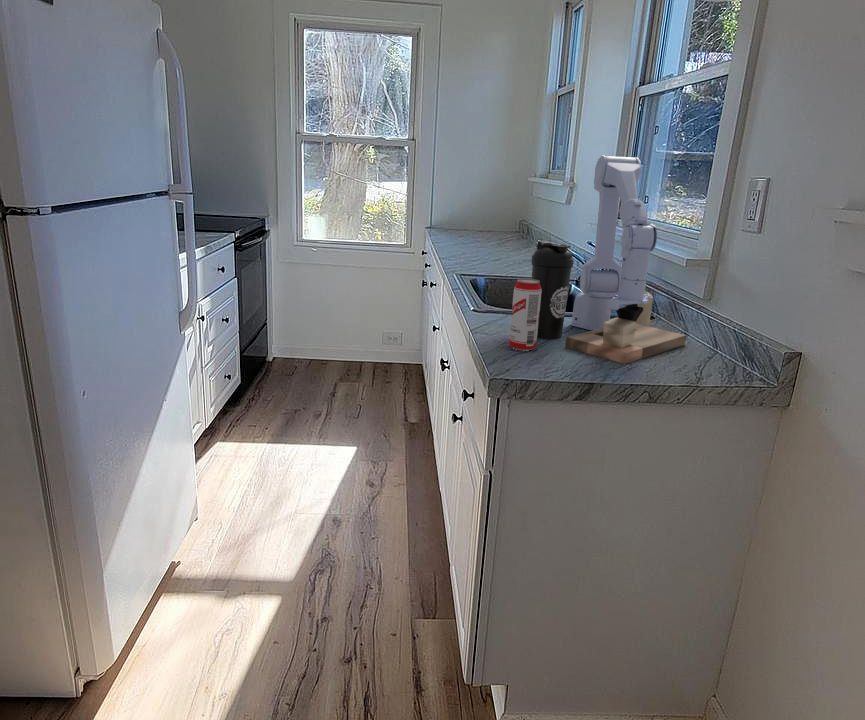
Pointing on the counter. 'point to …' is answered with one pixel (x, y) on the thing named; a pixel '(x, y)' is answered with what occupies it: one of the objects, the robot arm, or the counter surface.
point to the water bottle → (552, 286)
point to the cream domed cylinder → (645, 312)
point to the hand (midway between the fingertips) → (625, 336)
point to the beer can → (525, 314)
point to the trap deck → (643, 346)
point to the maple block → (619, 332)
